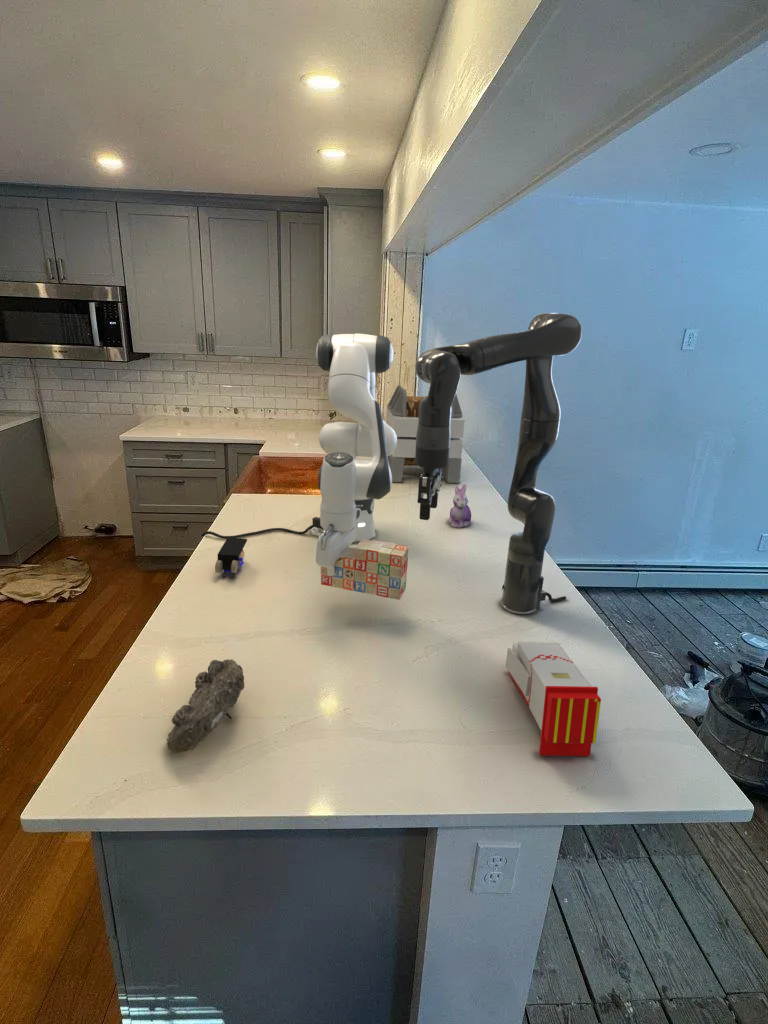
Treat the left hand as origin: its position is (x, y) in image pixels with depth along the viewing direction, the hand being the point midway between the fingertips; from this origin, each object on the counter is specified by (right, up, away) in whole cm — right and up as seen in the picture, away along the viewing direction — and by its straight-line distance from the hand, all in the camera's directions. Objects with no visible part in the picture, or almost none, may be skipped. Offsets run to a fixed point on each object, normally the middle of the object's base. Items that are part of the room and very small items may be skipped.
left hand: (337, 568), depth 146 cm
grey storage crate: (+29, +33, +128) cm, 136 cm away
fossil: (-21, -25, -38) cm, 50 cm away
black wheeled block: (-33, -3, +21) cm, 39 cm away
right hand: (+22, +14, -16) cm, 31 cm away
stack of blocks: (+7, -5, -1) cm, 8 cm away
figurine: (+40, +10, +65) cm, 78 cm away
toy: (+44, -25, -31) cm, 60 cm away
